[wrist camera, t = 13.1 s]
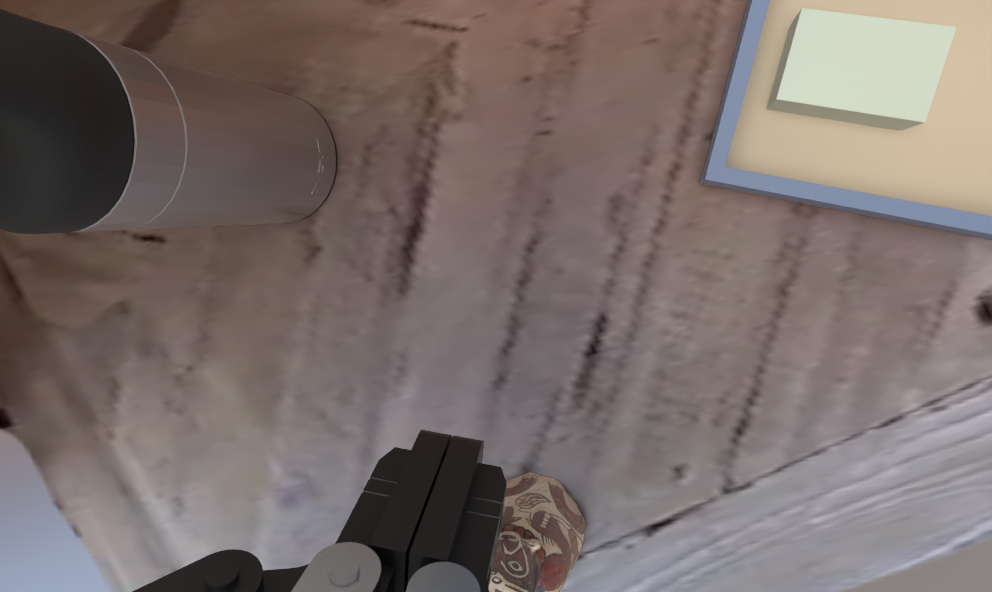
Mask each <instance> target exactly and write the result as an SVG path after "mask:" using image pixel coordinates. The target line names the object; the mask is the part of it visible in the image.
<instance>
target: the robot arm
mask: <svg viewBox="0 0 992 592" xmlns="http://www.w3.org/2000/svg"><path fill="white" fill-rule="evenodd" d="M335 172H336V152H335V145H334V141H333V138H332V135H331V132H330V130H329V128H328V126H327V125H326V123H325V121H324V119H323V118H322V117H321V116H320V114H319V113H318V112H317V111H316V110H315V109H314V108H313V107H312V106H310V105H309V104H308V103H306V102H305V101H303V100H301V99H298V98H296V97H294V96H291V95H287V94H284V93H280V92H277V91H274V90H270V89H267V88H263V87H260V86H257V85H254V84H250V83H247V82H243V81H240V80H237V79H233V78H230V77H226V76H223V75H219V74H216V73H212V72H209V71H206V70H202V69H199V68H195V67H192V66H188V65H185V64H181V63H178V62H174V61H171V60H168V59H164V58H161V57H157V56H154V55H150V54H147V53H143V52H140V51H137V50H133V49H130V48H126V47H123V46H118V45H115V44H111V43H108V42H104V41H101V40H98V39H94V38H91V37H87V36H84V35H80V34H77V33H73V32H70V31H67V30H64V29H61V28H57V27H54V26H50V25H47V24H43V23H40V22H37V21H34V20H31V19H28V18H25V17H22V16H19V15H16V14H13V13H10V12H7V11H4V10H1V9H0V229H1V230H4V231H8V232H14V233H24V234H46V233H67V232H91V231H114V230H130V229H154V228H177V227H200V226H224V225H251V224H274V223H290V222H294V221H299V220H301V219H303V218H305V217H307V216H309V215H311V214H312V213H313V212H314V211H315V210H316V209H318V208H319V207H320V205H321V204H322V203H323V201H324V200H325V199H326V197H327V196H328V193H329V191H330V189H331V187H332V185H333V180H334V176H335ZM483 448H484V441H480V440H475V439H469V438H464V437H459V436H453V437H452V436H451V435H447V434H442V433H436V432H431V431H425V430H421V431H420V433H419V435H418V437H417V439H416V441H415V443H414V446H413V448H412V450H406V449H401V448H396V447H395V448H394V449H392V450H391V451H390V452H389V453H387V454H386V455H385V456H383V457H382V458H381V459H380V460H379V461H378V463H377V465H376V467H375V469H374V471H373V473H372V475H371V477H370V480H368V482H367V484H366V486H365V488H364V491H363V493H362V494H361V496H360V498H359V500H358V501H357V503H356V505H355V507H354V509H353V511H352V513H351V515H350V517H349V519H348V521H347V523H346V525H345V526H344V528H343V530H342V532H341V534H340V536H339V538H338V540H337V542H336V543H335V544H334V545H331V546H329V547H327V548H325V549H323V550H322V551H320V552H319V553H318V554H317V555H316V556H315V557H314V558H313V559H312V561H311V562H310V563H309V564H308V565H305V566H301V567H297V568H290V569H277V570H265V571H263V569H262V565H261V563H260V561H259V560H258V559H257V557H255V556H254V555H253V554H251V553H249V552H246V551H243V550H224V551H220V552H216V553H213V554H211V555H208V556H206V557H204V558H202V559H200V560H198V561H196V562H194V563H192V564H189V565H187V566H185V567H183V568H181V569H179V570H177V571H175V572H173V573H171V574H168V575H166V576H164V577H162V578H160V579H158V580H156V581H154V582H152V583H150V584H147V585H145V586H143V587H141V588H139V589H137V590H135V591H133V592H489V584H490V579H491V574H492V569H493V565H494V560H495V555H496V550H497V545H498V541H499V536H500V530H501V523H502V515H503V508H504V501H505V493H506V486H507V484H506V481H505V478H504V475H503V472H502V469H501V467H497V466H492V465H486V464H482V457H483Z"/></svg>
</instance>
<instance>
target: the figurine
mask: <svg viewBox="0 0 992 592" xmlns="http://www.w3.org/2000/svg"><path fill="white" fill-rule="evenodd" d="M506 484H507V486H506V493H505V501H504V508H503V515H502V523H501V530H500V536H499V541H498V545H497V550H496V555H495V560H494V565H493V569H492V574H491V579H490V584H489V592H559V591H560V590H561V588H562V587H563V585H564V583H565V581H566V579H567V577H568V576H569V574H570V572H571V570H572V568H573V567H574V565H575V563H576V561H577V559H578V557H579V554H580V552H581V549H582V546H583V542H584V535H585V522H584V517H583V515H582V514H581V512H580V511H579V509H578V506H577V504H576V503H575V502H574V500H573V499H572V498H571V497H570V495H569V494H567V493H566V491H565V490H564V487H563V486H562V485H561V483H560V482H558V481H557V480H556V479H554V478H551V477H545V476H541V475H539V474H536V473H531V472H529V473H526V474H524V475H521V476H518V477H514V478H512V479H511V480H508V481H506Z"/></svg>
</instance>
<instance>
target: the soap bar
mask: <svg viewBox="0 0 992 592" xmlns="http://www.w3.org/2000/svg"><path fill="white" fill-rule="evenodd" d="M956 28H957V27H953V26H945V25H936V24H928V23H920V22H912V21H904V20H896V19H888V18H879V17H871V16H863V15H855V14H847V13H839V12H831V11H822V10H814V9H806V8H801V10H800V12H799V13H798V15H797V16H796V18H795V19H794V21H793V22H792V24H791V25H790V27H789V29H788V33H787V37H786V40H785V44H784V47H783V51H782V55H781V58H780V62H779V65H778V69H777V73H776V76H775V80H774V84H773V87H772V91H771V94H770V98H769V102H768V105H767V110H774V111H780V112H786V113H792V114H798V115H805V116H811V117H817V118H823V119H829V120H836V121H842V122H848V123H854V124H860V125H866V126H873V127H879V128H885V129H891V130H897V131H901V130H904V129H907V128H910V127H913V126H916V125H919V124H923V123H925V122H926V119H927V116H928V113H929V110H930V107H931V104H932V101H933V98H934V95H935V92H936V89H937V86H938V82H939V79H940V76H941V73H942V70H943V67H944V64H945V61H946V58H947V55H948V52H949V49H950V46H951V43H952V40H953V37H954V34H955V31H956Z"/></svg>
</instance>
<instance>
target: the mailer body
mask: <svg viewBox="0 0 992 592" xmlns="http://www.w3.org/2000/svg"><path fill="white" fill-rule="evenodd" d="M801 8H806V9H814V10H822V11H831V12H839V13H847V14H855V15H863V16H871V17H879V18H888V19H896V20H904V21H912V22H920V23H928V24H936V25H945V26H953V27H957V28H956V31H955V34H954V37H953V40H952V43H951V46H950V49H949V52H948V55H947V58H946V61H945V64H944V67H943V70H942V73H941V76H940V79H939V82H938V86H937V89H936V92H935V95H934V98H933V101H932V104H931V107H930V110H929V113H928V116H927V119H926V122H925V123H923V124H919V125H916V126H913V127H910V128H907V129H904V130H901V131H897V130H891V129H885V128H879V127H873V126H866V125H860V124H854V123H848V122H842V121H836V120H829V119H823V118H817V117H811V116H805V115H798V114H792V113H786V112H780V111H774V110H767V105H768V102H769V98H770V94H771V91H772V87H773V84H774V80H775V76H776V73H777V69H778V65H779V62H780V58H781V55H782V51H783V47H784V44H785V40H786V37H787V33H788V29H789V27H790V25H791V24H792V22H793V21H794V19H795V18H796V16H797V15H798V13H799V12H800V10H801ZM700 184H705V185H710V186H715V187H720V188H725V189H731V190H736V191H741V192H746V193H751V194H756V195H762V196H767V197H772V198H777V199H782V200H787V201H793V202H798V203H803V204H808V205H813V206H818V207H824V208H829V209H834V210H839V211H844V212H849V213H855V214H860V215H865V216H870V217H875V218H880V219H886V220H891V221H896V222H901V223H906V224H912V225H917V226H922V227H927V228H932V229H937V230H943V231H948V232H953V233H958V234H963V235H968V236H974V237H979V238H984V239H989V240H992V0H748V2H747V6H746V10H745V13H744V17H743V21H742V25H741V29H740V32H739V36H738V40H737V44H736V48H735V51H734V55H733V59H732V63H731V67H730V71H729V74H728V78H727V82H726V86H725V90H724V93H723V97H722V101H721V105H720V109H719V112H718V116H717V120H716V124H715V128H714V131H713V135H712V139H711V143H710V147H709V150H708V154H707V158H706V162H705V166H704V170H703V173H702V177H701V181H700Z"/></svg>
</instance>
